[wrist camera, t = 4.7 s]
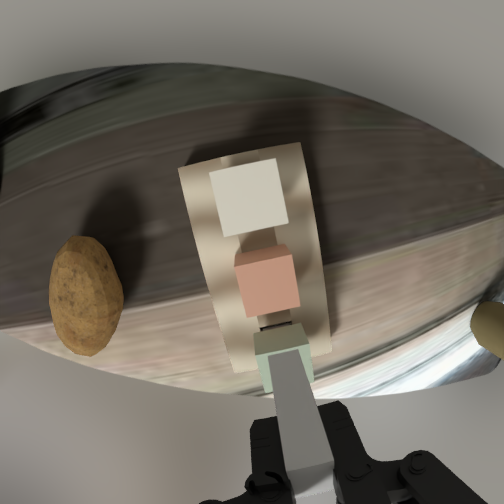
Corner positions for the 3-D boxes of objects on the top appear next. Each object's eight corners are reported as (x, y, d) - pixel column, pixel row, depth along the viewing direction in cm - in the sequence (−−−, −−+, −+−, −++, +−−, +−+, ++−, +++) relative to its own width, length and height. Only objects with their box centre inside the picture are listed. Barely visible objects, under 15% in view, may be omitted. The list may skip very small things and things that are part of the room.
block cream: (216, 174, 26) (209, 172, 20) (267, 163, 26) (275, 158, 20) (227, 224, 27) (224, 237, 21) (277, 213, 27) (288, 223, 21)
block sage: (252, 322, 30) (255, 355, 24) (296, 313, 30) (309, 343, 24) (261, 357, 31) (265, 392, 25) (302, 348, 31) (314, 382, 25)
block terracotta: (235, 249, 30) (234, 266, 24) (281, 238, 30) (291, 254, 24) (245, 291, 31) (246, 317, 25) (289, 281, 31) (300, 306, 25)
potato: (142, 236, 29) (112, 255, 22) (130, 340, 33) (108, 377, 25) (72, 218, 28) (32, 231, 21) (69, 318, 32) (40, 347, 24)
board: (182, 169, 28) (177, 168, 25) (295, 144, 27) (300, 142, 25) (235, 361, 34) (234, 373, 31) (326, 341, 34) (331, 351, 31)
